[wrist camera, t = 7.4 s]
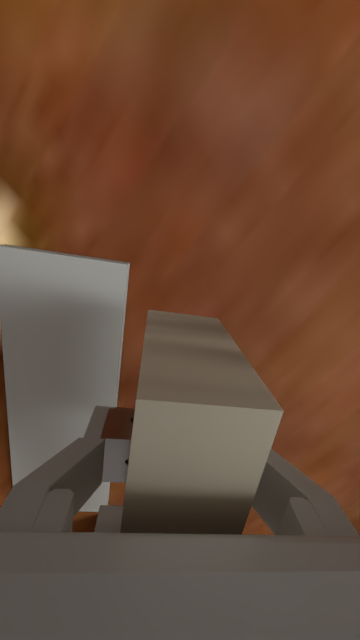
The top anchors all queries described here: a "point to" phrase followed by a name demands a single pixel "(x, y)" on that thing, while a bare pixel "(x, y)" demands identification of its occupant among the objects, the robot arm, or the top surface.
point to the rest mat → (58, 350)
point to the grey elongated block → (193, 433)
